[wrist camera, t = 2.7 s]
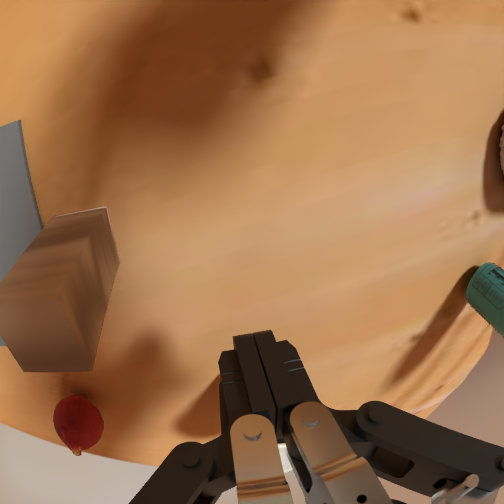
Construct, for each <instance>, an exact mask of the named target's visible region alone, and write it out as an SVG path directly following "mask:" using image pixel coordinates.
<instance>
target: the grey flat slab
mask: <svg viewBox="0 0 504 504" xmlns="http://www.w3.org/2000/svg"><path fill="white" fill-rule="evenodd" d="M42 229H43V225H42V222H41V218H40V215H39V211H38V207H37V203H36V200H35V195H34V191H33V187H32V183H31V178H30V173H29V169H28V164H27V158H26V153H25V147H24V141H23V134H22V127H21V120H18V121H15V122H12V123H10V124H7V125H4V126H2V127H0V283H1V282H2V280H3V279H4V278H5V276H6V275H7V273H8V272H9V271H10V269H11V268H12V267H13V265H14V264H15V263H16V261H17V260H18V259H19V257H20V256H21V255H22V254H23V252H24V251H25V250H26V249H27V247H28V246H29V245H30V244H31V242H32V241H33V240H34V239H35V238H36V236H37V235H38V234H39V233H40V232H41V230H42ZM0 346H7V345H6V343H5V342H4V340H3V338H2V337H1V335H0Z"/></svg>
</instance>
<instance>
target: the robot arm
mask: <svg viewBox="0 0 504 504" xmlns="http://www.w3.org/2000/svg"><path fill="white" fill-rule="evenodd" d="M233 344H234V350H229V351H223V352H222V353H221V356H220V359H219V362H218V364H219V369H220V375H221V380H222V386H223V391H224V396H225V401H226V406H227V411H228V416H229V424H228V427H227V429H226V430H225V432H224V433H223V434H222V435H221V436H219V437H218V438H216V439H214V440H212V441H209V442H207V443H205V444H201V443H198V442H184V443H181V444H179V445H177V446H176V447H175V448H174V449H173V450H172V451H171V452H170V454H169V455H168V456H167V457H166V459H165V460H164V461H163V462H162V464H161V465H160V466H159V467H158V469H157V470H156V471H155V472H154V474H153V475H152V476H151V478H150V479H149V480H148V481H147V482H146V483H145V485H144V486H143V487H142V489H141V490H140V491H139V492H138V493H137V494H136V496H135V497H134V498H133V499H132V500H131V502H130V503H129V504H215V503H216V501H217V500H218V498H219V497H220V495H221V493H222V492H224V491H226V490H228V489H231V488H233V487H235V486H237V496H238V504H293V499H292V496H291V491H290V488H289V485H288V483H287V481H286V479H285V475H284V471H283V466H282V462H281V457H280V453H279V448H278V444H277V439H280V438H284V441H285V444H286V447H287V448H286V455H287V457H288V460H289V462H290V464H291V467H292V469H293V471H294V473H295V475H296V478H297V480H298V482H299V485H300V487H301V489H302V491H303V494H304V496H305V502H306V504H406V503H404V502H401V501H398V500H394V499H390V498H389V496H388V494H387V493H386V491H385V489H384V488H383V486H382V484H381V482H380V481H379V479H378V477H381V478H383V479H385V480H388V481H390V482H392V483H395V484H397V485H400V486H403V487H405V488H407V489H410V490H412V491H415V492H418V493H420V494H423V495H426V496H429V497H432V499H431V504H494V502H495V499H496V496H497V493H498V490H499V488H500V487H501V486H503V485H504V448H503V447H500V446H497V445H494V444H491V443H488V442H485V441H482V440H479V439H476V438H473V437H470V436H467V435H464V434H462V433H459V432H456V431H453V430H450V429H448V428H445V427H443V426H440V425H437V424H435V423H432V422H429V421H427V420H425V419H422V418H420V417H417V416H415V415H412V414H410V413H407V412H405V411H403V410H400V409H398V408H395V407H393V406H391V405H388V404H386V403H384V402H380V401H370V402H367V403H365V404H363V405H362V406H361V407H360V408H359V409H358V410H334V409H331V408H329V407H327V406H325V405H324V404H323V403H321V401H320V400H319V399H318V397H317V395H316V392H315V390H314V388H313V386H312V383H311V381H310V379H309V377H308V375H307V372H306V370H305V369H304V366H303V363H302V361H301V360H300V357H299V355H298V352H297V350H296V348H295V347H294V346H293V345H291V344H290V343H289V342H288V341H287V340H284V341H279V342H276V340H275V338H274V335H273V333H272V331H271V330H266V331H261V332H255V333H252V334H251V333H250V334H244V335H238V336H233ZM377 476H378V477H377Z"/></svg>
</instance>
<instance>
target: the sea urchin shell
mask: <svg viewBox="0 0 504 504" xmlns="http://www.w3.org/2000/svg"><path fill="white" fill-rule="evenodd" d="M503 120H504V119H503ZM502 131H503V134H502V136H501V138H500V144H499V146H500V149H501V152H500V157H501V158H500V161H501V166H502V167H501V169H502V170H503V172H504V125H503V126H502ZM503 175H504V173H503Z"/></svg>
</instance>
